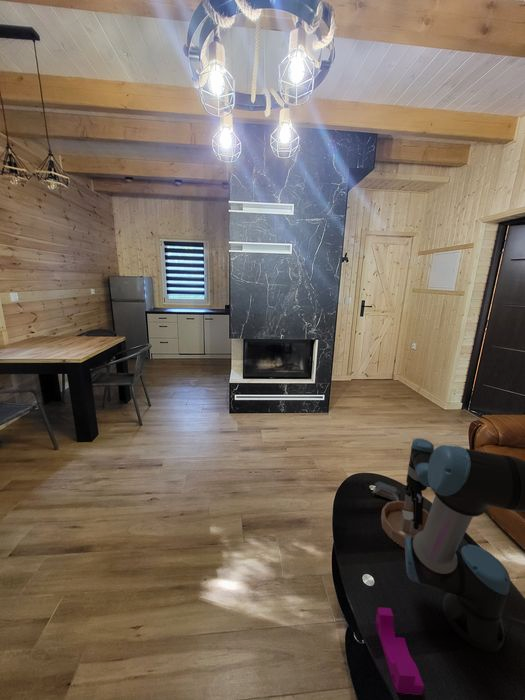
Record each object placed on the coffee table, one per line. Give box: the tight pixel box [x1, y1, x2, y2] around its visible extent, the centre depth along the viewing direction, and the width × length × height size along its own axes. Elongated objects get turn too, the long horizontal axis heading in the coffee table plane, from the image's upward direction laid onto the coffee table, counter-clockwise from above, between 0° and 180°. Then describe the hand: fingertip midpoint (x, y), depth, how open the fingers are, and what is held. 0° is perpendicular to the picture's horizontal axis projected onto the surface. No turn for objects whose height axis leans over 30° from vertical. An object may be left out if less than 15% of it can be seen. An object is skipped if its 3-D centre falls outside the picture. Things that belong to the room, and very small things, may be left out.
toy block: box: [375, 606, 425, 695], centre depth 77 cm, size 15×6×8 cm, turn 178°
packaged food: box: [371, 481, 401, 502], centre depth 138 cm, size 9×12×5 cm
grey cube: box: [400, 510, 420, 533], centre depth 118 cm, size 5×6×6 cm
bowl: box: [380, 500, 429, 550], centre depth 119 cm, size 22×22×5 cm
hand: (410, 520), depth 118 cm, fingers open, 13 cm apart
